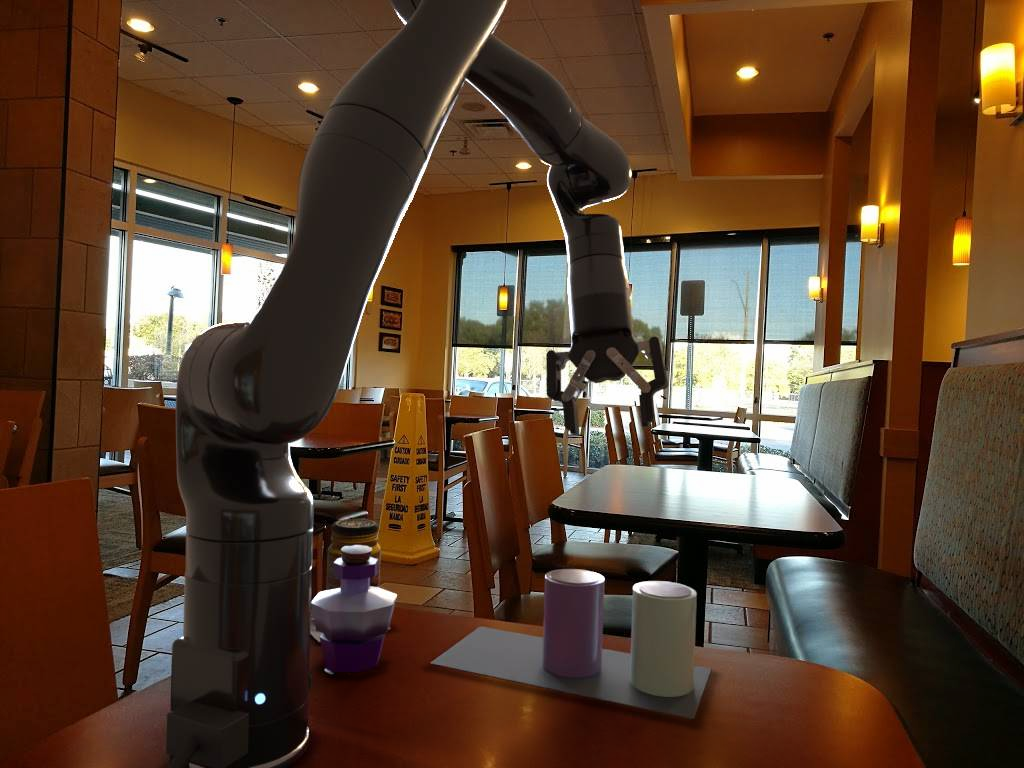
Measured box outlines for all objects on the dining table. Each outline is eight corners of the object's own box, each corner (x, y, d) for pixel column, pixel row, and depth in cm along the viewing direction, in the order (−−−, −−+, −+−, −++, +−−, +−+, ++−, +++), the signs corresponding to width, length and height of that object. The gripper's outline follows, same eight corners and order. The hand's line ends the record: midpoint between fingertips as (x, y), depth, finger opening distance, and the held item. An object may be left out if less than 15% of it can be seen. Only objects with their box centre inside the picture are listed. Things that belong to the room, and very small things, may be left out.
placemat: (693, 725, 63) (693, 718, 63) (429, 669, 73) (429, 663, 73) (711, 674, 74) (712, 668, 74) (480, 631, 84) (480, 625, 84)
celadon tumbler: (687, 702, 66) (691, 602, 66) (622, 689, 68) (626, 592, 68) (697, 677, 71) (701, 585, 71) (637, 666, 74) (640, 576, 74)
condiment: (391, 630, 83) (394, 525, 83) (318, 643, 79) (321, 532, 78) (366, 611, 89) (369, 514, 89) (298, 622, 85) (301, 520, 84)
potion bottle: (341, 645, 78) (345, 534, 78) (412, 659, 75) (415, 543, 75) (289, 675, 70) (292, 551, 70) (365, 692, 67) (369, 562, 67)
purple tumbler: (591, 683, 69) (595, 588, 69) (533, 671, 72) (536, 579, 72) (608, 660, 75) (611, 572, 75) (553, 650, 77) (556, 565, 77)
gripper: (534, 299, 88) (543, 433, 84) (653, 281, 84) (667, 420, 80) (551, 316, 95) (559, 440, 91) (661, 300, 91) (674, 428, 87)
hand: (610, 430), depth 86 cm, fingers open, 8 cm apart
